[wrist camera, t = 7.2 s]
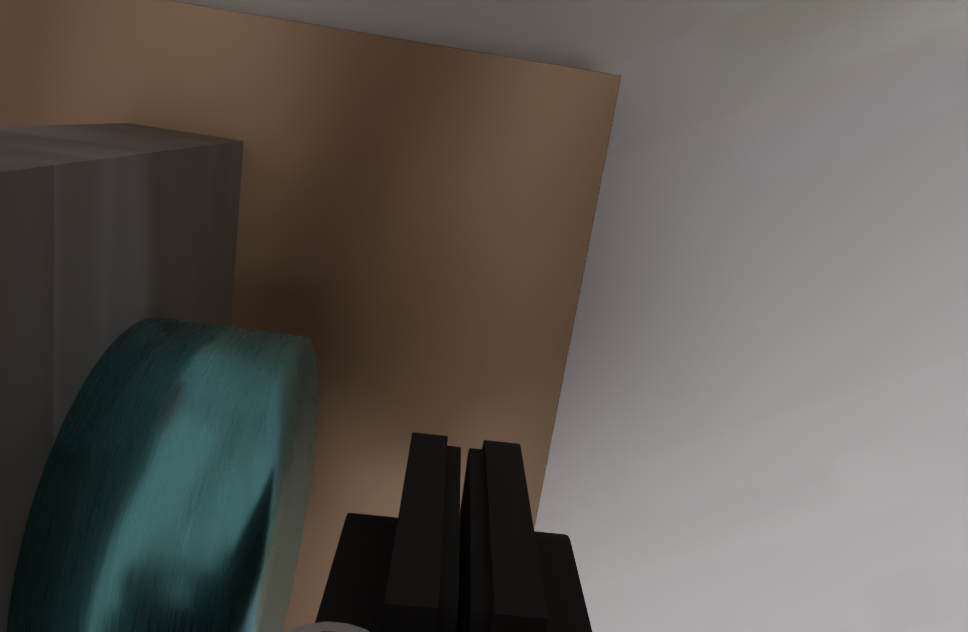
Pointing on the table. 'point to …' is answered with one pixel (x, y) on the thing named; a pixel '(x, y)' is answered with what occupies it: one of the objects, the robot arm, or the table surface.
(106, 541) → the shaft
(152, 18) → the shaft bracket
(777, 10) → the table surface
